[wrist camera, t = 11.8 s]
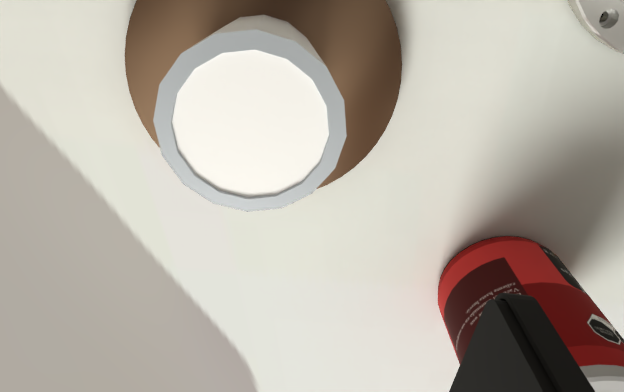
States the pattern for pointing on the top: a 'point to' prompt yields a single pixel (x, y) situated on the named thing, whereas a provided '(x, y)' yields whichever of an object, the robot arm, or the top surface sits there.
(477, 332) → the robot arm
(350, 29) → the brown round coaster
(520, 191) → the top surface
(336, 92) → the white cup
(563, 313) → the canned food
